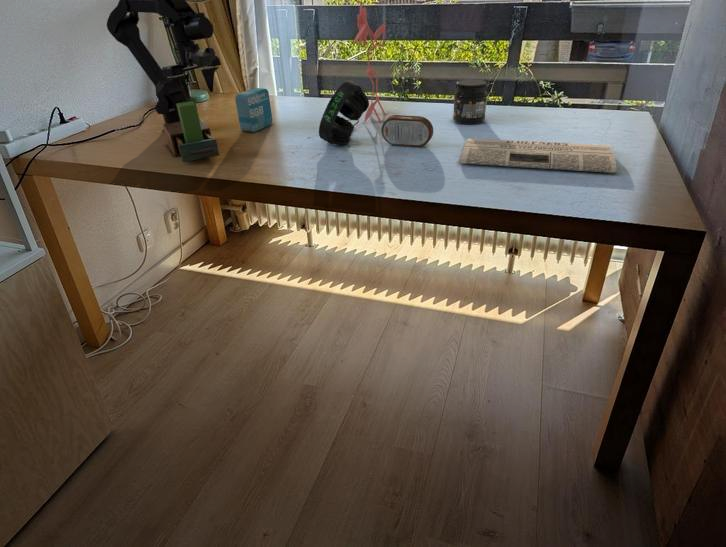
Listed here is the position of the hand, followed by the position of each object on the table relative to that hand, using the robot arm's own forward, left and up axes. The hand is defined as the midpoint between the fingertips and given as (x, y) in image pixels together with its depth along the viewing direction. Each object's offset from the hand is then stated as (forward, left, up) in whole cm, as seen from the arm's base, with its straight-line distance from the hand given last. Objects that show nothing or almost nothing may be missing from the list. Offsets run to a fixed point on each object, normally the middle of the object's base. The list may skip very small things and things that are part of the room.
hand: (200, 95), depth 157 cm
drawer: (+15, -19, -11) cm, 27 cm away
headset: (+45, +9, -13) cm, 48 cm away
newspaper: (+102, +16, -13) cm, 105 cm away
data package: (+11, +11, -13) cm, 20 cm away
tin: (+66, +13, -13) cm, 69 cm away
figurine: (+39, +35, -13) cm, 54 cm away
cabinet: (+5, -13, -12) cm, 19 cm away
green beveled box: (+14, -19, -10) cm, 25 cm away
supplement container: (+74, +44, -13) cm, 88 cm away
